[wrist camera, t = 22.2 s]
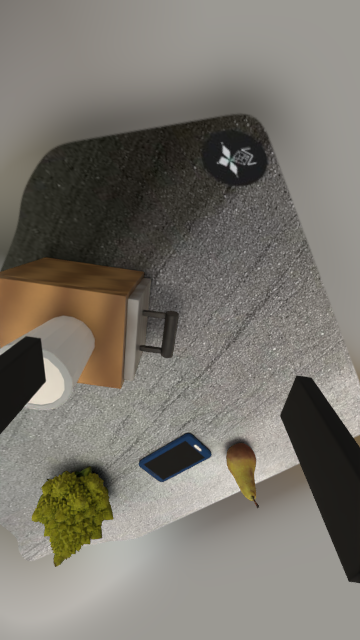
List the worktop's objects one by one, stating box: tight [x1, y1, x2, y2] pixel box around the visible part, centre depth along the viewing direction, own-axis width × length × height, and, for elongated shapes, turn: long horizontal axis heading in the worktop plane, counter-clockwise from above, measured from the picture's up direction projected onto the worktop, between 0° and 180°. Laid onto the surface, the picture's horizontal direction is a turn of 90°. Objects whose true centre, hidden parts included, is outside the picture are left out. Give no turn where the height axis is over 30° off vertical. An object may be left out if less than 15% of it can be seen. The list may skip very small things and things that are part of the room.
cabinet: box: [0, 257, 144, 389], centre depth 31 cm, size 14×12×11 cm
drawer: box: [123, 278, 179, 381], centre depth 32 cm, size 17×11×9 cm, turn 82°
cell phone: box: [139, 433, 211, 482], centre depth 49 cm, size 7×14×1 cm, turn 131°
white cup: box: [0, 316, 95, 410], centre depth 23 cm, size 7×7×7 cm
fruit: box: [226, 443, 259, 508], centre depth 42 cm, size 6×6×12 cm
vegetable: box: [32, 466, 113, 567], centre depth 49 cm, size 15×16×15 cm
